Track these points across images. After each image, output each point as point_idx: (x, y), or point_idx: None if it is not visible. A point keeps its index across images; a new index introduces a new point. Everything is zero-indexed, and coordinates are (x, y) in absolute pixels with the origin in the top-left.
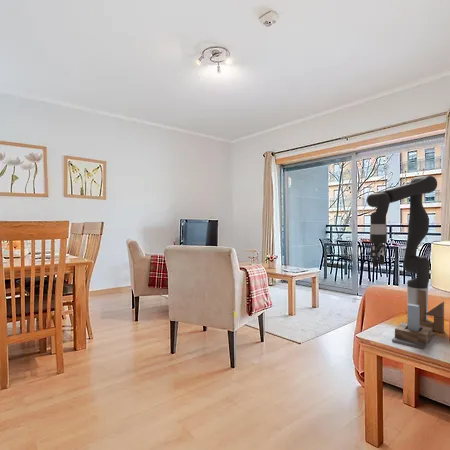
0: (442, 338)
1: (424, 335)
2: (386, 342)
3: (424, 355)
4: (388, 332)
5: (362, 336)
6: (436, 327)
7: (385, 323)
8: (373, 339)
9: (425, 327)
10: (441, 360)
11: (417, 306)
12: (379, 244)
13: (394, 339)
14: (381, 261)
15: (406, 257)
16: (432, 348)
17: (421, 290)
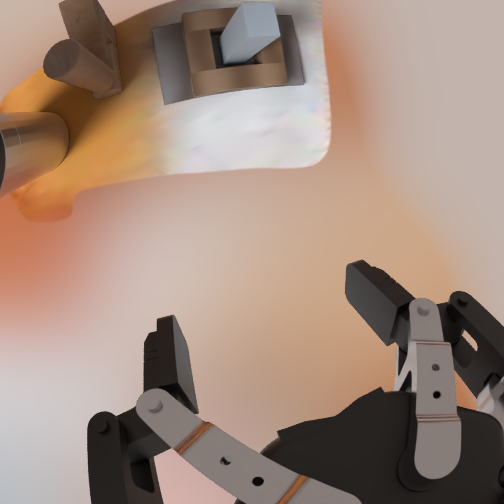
0: (165, 8)
1: None
2: (316, 93)
3: (321, 12)
4: (239, 120)
5: (322, 155)
6: (113, 37)
7: (164, 172)
8: (321, 126)
9: (197, 25)
10: None
11: (270, 3)
12: (470, 498)
13: (300, 79)
14: (182, 353)
15: None
16: None
17: (49, 67)
